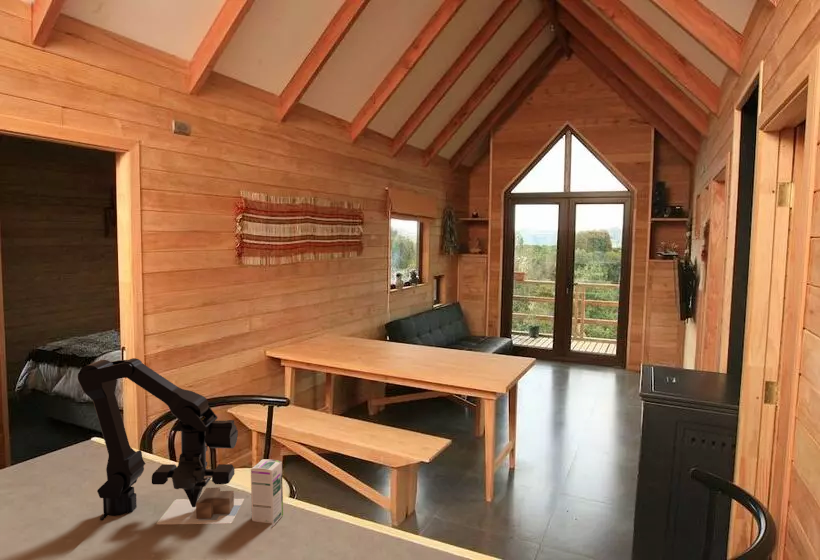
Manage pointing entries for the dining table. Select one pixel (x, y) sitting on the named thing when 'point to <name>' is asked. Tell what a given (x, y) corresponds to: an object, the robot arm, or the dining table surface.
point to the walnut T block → (214, 503)
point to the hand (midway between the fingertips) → (194, 506)
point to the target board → (186, 514)
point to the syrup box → (267, 491)
